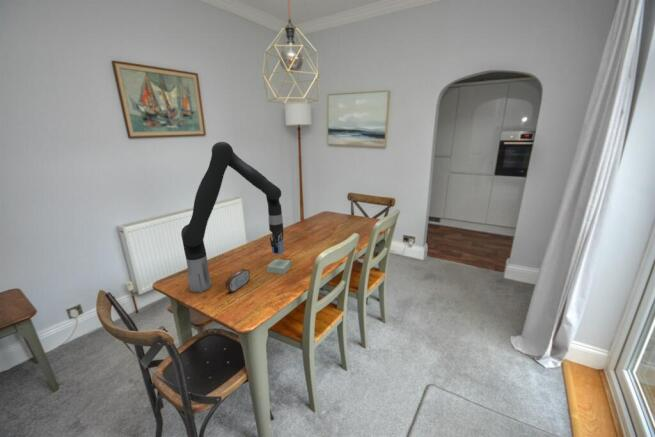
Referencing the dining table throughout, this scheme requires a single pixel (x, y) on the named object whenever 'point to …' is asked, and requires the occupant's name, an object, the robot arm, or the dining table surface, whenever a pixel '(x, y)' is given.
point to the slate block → (279, 247)
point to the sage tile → (279, 266)
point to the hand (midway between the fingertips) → (278, 250)
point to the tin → (237, 280)
